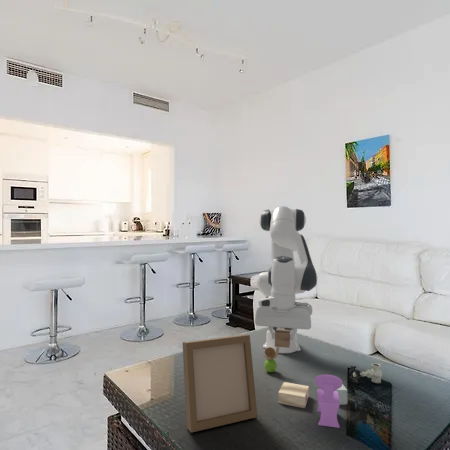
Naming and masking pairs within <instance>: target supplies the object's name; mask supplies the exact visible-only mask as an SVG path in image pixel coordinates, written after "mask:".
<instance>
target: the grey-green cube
mask: <svg viewBox="0 0 450 450" xmlns="http://www.w3.org/2000/svg"><path fill="white" fill-rule="evenodd" d="M335 391H338V396H339V405H348V389H347V388H346V386H345V385H344V384H343V383H342V386H341V387H340V388H339V389H337V390H335Z"/></svg>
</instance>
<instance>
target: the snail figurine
mask: <svg viewBox="0 0 450 450" xmlns="http://www.w3.org/2000/svg"><path fill="white" fill-rule="evenodd" d="M278 352H279V347H276V352H275V350H274V349H273V348H272V347H267V348H264V358H265V359H266V360H265V361H264V363H263V368H264V369H265V370H266V372H267V373H273V372H275V371H277V368H278V363H277V361H276V360H275V359H277V357H278V355H279V353H278Z"/></svg>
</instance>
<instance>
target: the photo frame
mask: <svg viewBox="0 0 450 450" xmlns="http://www.w3.org/2000/svg"><path fill="white" fill-rule="evenodd" d="M251 344H252V343H251V336H250V334H239V335H228V336H221V337H214V338H213V337H212V338H206V339H198V340H188V341H182V356H183V357H182V359H183V376H184V377H183V378H184V397H185V416H186V417H185V418H186V429H187V430H188V431H189V432H190V433H191V434H192V433H194V432H195V433H196V432H199V431H203V430H208V429H213V428H216V427H220V426H225V425H229V424H234V423H238V422H241V421H242V422H243V421H246V420H250V419H254V418H258V410H257V409H258V407H257V397H256V385H255V376H254V365H253V356H252V355H253V354H252V346H251Z"/></svg>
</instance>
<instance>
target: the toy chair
mask: <svg viewBox="0 0 450 450" xmlns="http://www.w3.org/2000/svg"><path fill="white" fill-rule="evenodd" d="M314 381H315V382H314V384H315V385H316V386H317V387H319V388H317V391H316V394H317V404H318V408H317V412H318V413H320V419H319V421H318V426H324V427H331V428H338V429H339V428H340V424H339V420H338V412H339V409H340V404H339V396H338V391H335V390H337V389H339V388H340V387H341V386H342V384H343V380H342V378H341V377H339V376H337V375H333V374H326V373H325V374H319V375H317V376H316V377H315V378H314Z"/></svg>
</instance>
